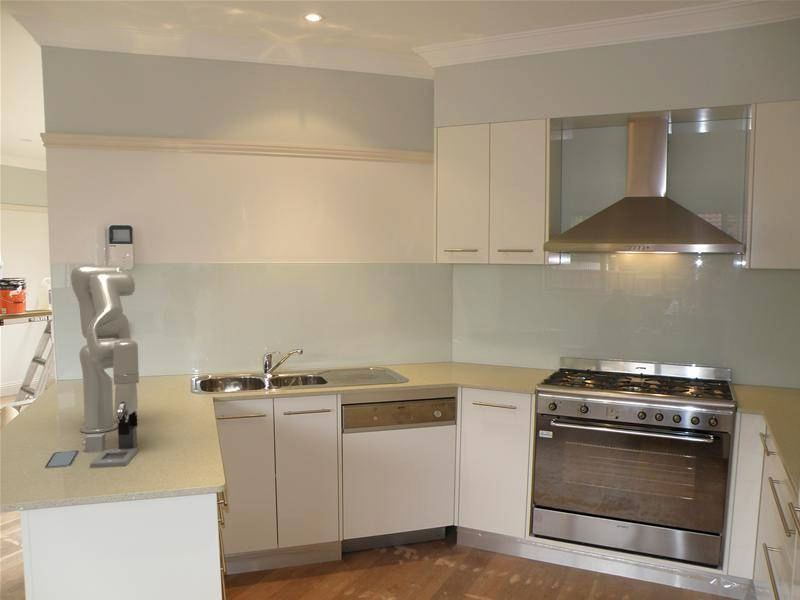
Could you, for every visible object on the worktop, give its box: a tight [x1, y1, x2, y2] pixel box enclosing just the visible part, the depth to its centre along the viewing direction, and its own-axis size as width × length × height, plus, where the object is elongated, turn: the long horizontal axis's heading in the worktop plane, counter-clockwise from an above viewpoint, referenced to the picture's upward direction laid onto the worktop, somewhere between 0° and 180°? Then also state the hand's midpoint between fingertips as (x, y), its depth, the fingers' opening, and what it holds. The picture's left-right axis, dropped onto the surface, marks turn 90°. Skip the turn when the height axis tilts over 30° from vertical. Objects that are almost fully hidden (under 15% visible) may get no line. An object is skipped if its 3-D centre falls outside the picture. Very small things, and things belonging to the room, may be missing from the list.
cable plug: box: [81, 433, 106, 453], centre depth 202 cm, size 4×6×5 cm, turn 99°
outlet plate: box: [89, 447, 139, 468], centre depth 192 cm, size 14×10×1 cm
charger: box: [117, 425, 138, 449], centre depth 203 cm, size 4×4×7 cm
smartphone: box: [44, 449, 80, 469], centre depth 192 cm, size 7×1×15 cm
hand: (128, 430), depth 203 cm, fingers open, 9 cm apart
